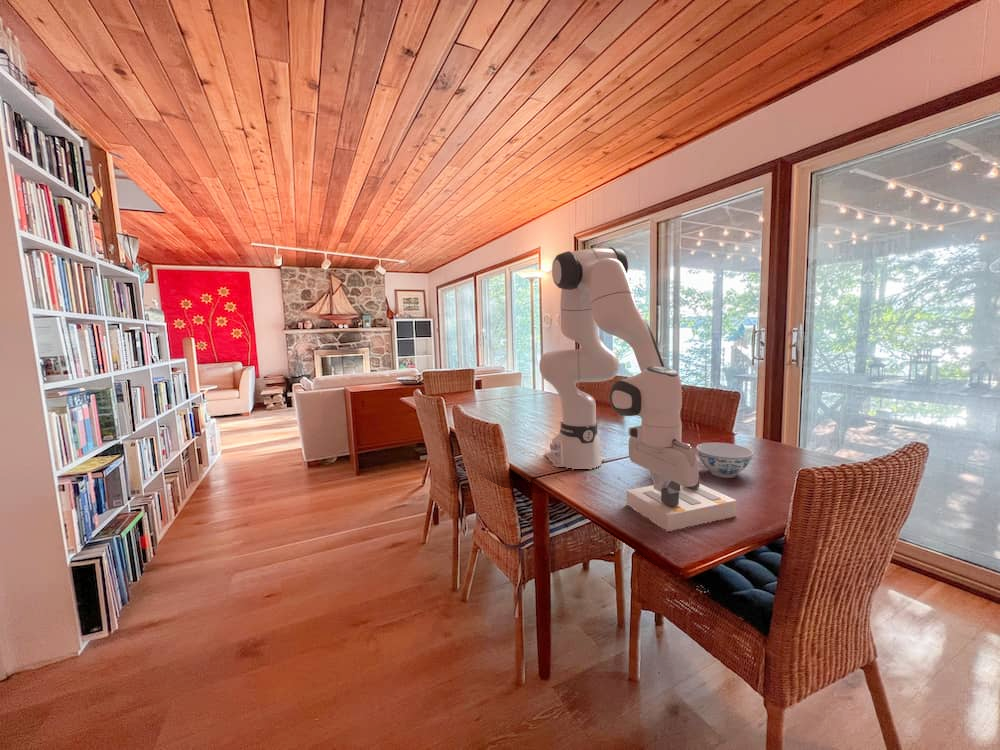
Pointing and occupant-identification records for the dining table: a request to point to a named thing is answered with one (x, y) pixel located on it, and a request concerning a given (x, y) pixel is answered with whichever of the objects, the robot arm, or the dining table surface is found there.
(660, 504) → the switch panel
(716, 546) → the dining table surface
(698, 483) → the switch tab
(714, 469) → the chinaware
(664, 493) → the switch tab
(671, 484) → the switch tab
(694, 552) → the dining table surface
